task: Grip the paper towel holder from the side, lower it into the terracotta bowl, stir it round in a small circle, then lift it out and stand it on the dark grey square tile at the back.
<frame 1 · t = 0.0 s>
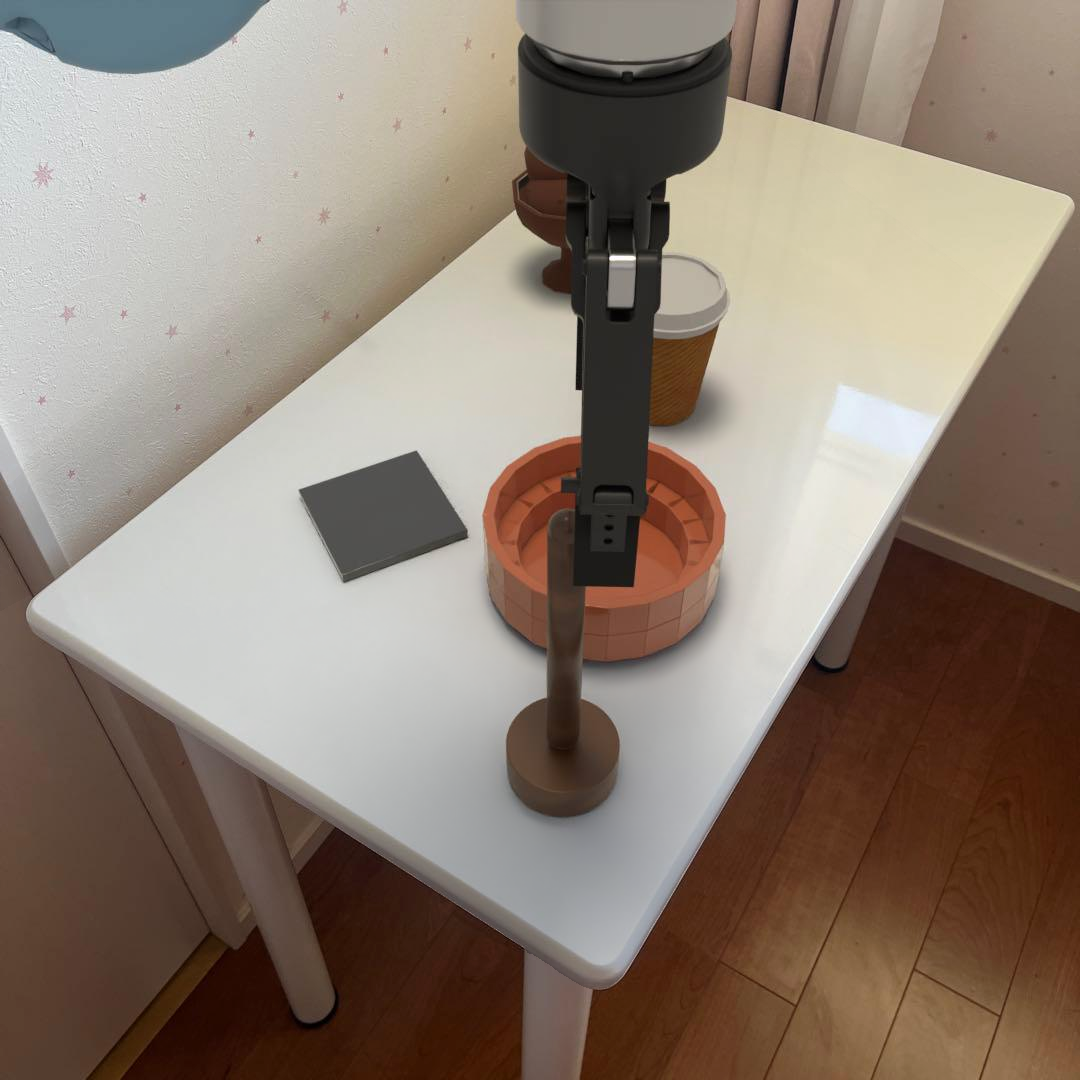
hand: (601, 475, 54), 24 cm above the table, tool pointing down, fingers open, 13 cm apart
dark grey square tile: (382, 516, 85), on the table
paper towel holder: (562, 768, 70), on the table
terracotta round bowl: (600, 576, 81), on the table
ice cream bowl: (569, 279, 107), on the table
disposable coffee cup: (658, 403, 94), on the table
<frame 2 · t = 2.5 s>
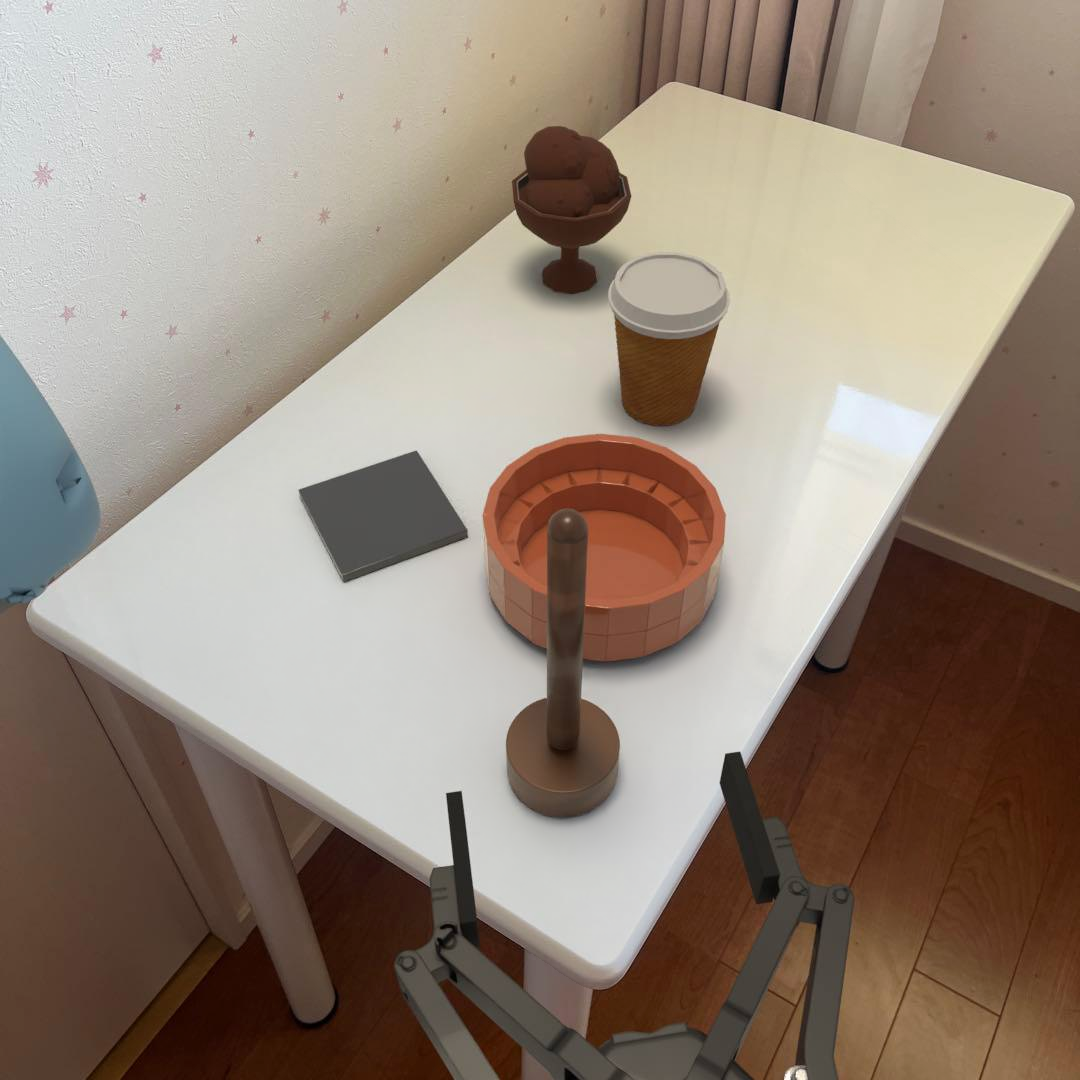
hand: (594, 785, 54), 13 cm above the table, tool horizontal, fingers open, 13 cm apart
nothing on the table moved.
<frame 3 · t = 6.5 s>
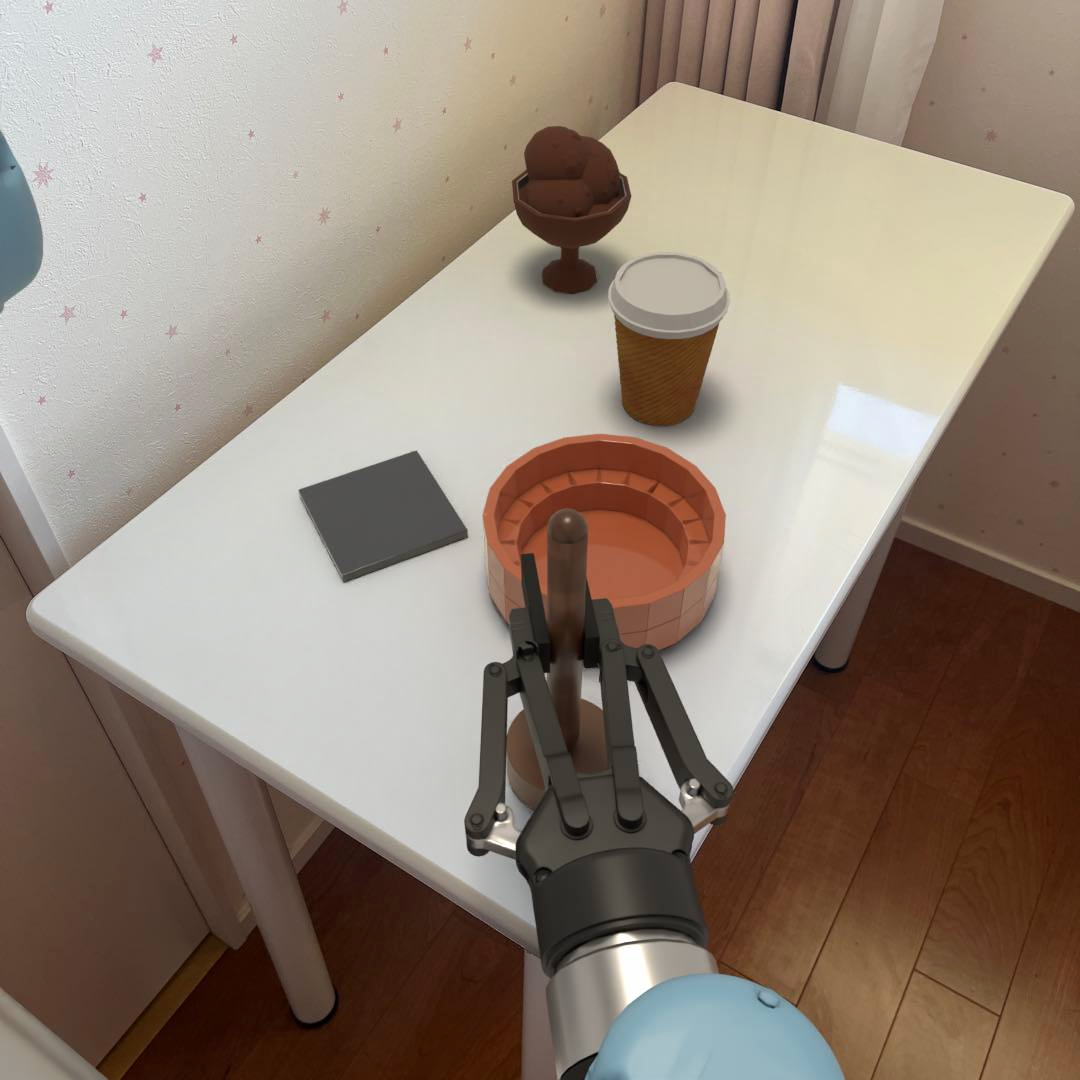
hand: (550, 567, 64), 13 cm above the table, tool horizontal, fingers closed on paper towel holder, 2 cm apart
paper towel holder: (562, 768, 70), on the table, touching gripper
everything else where it was.
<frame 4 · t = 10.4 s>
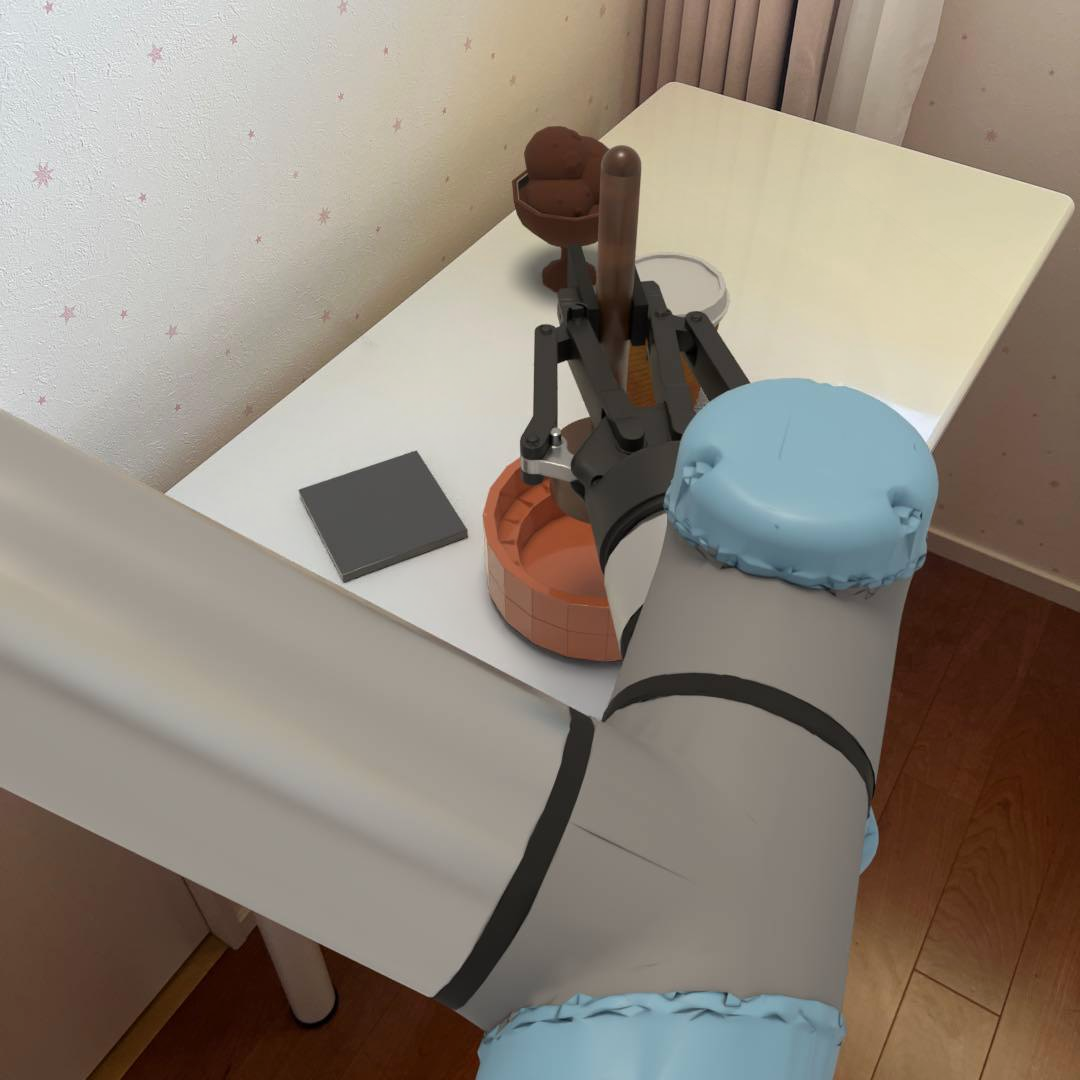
hand: (596, 262, 65), 25 cm above the table, tool horizontal, fingers closed on paper towel holder, 2 cm apart
paper towel holder: (604, 486, 70), point 12 cm above the table, touching gripper
everything else where it was.
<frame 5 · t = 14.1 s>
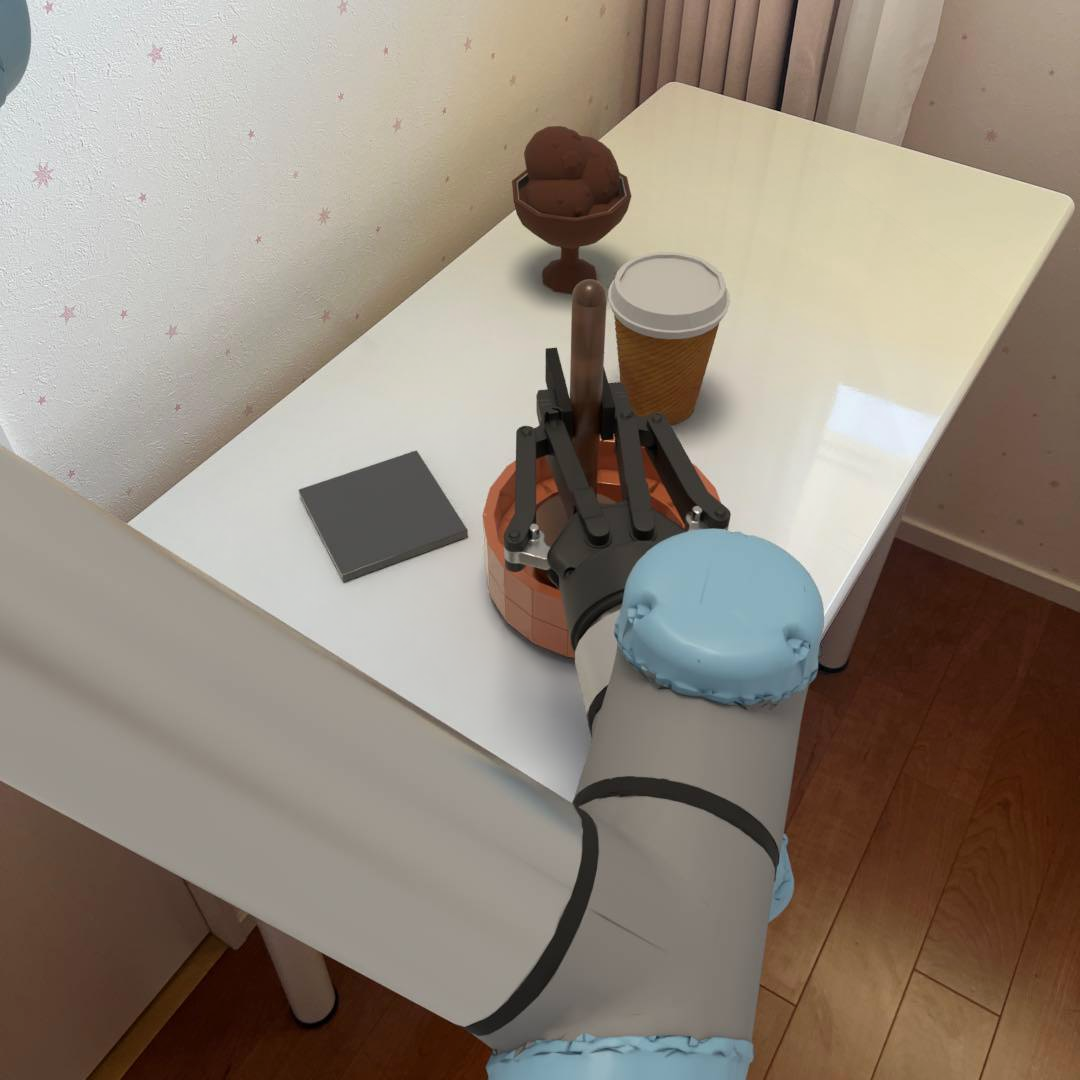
hand: (570, 362, 74), 15 cm above the table, tool horizontal, fingers closed on paper towel holder, 2 cm apart
paper towel holder: (580, 554, 79), point 2 cm above the table, touching gripper
everything else where it was.
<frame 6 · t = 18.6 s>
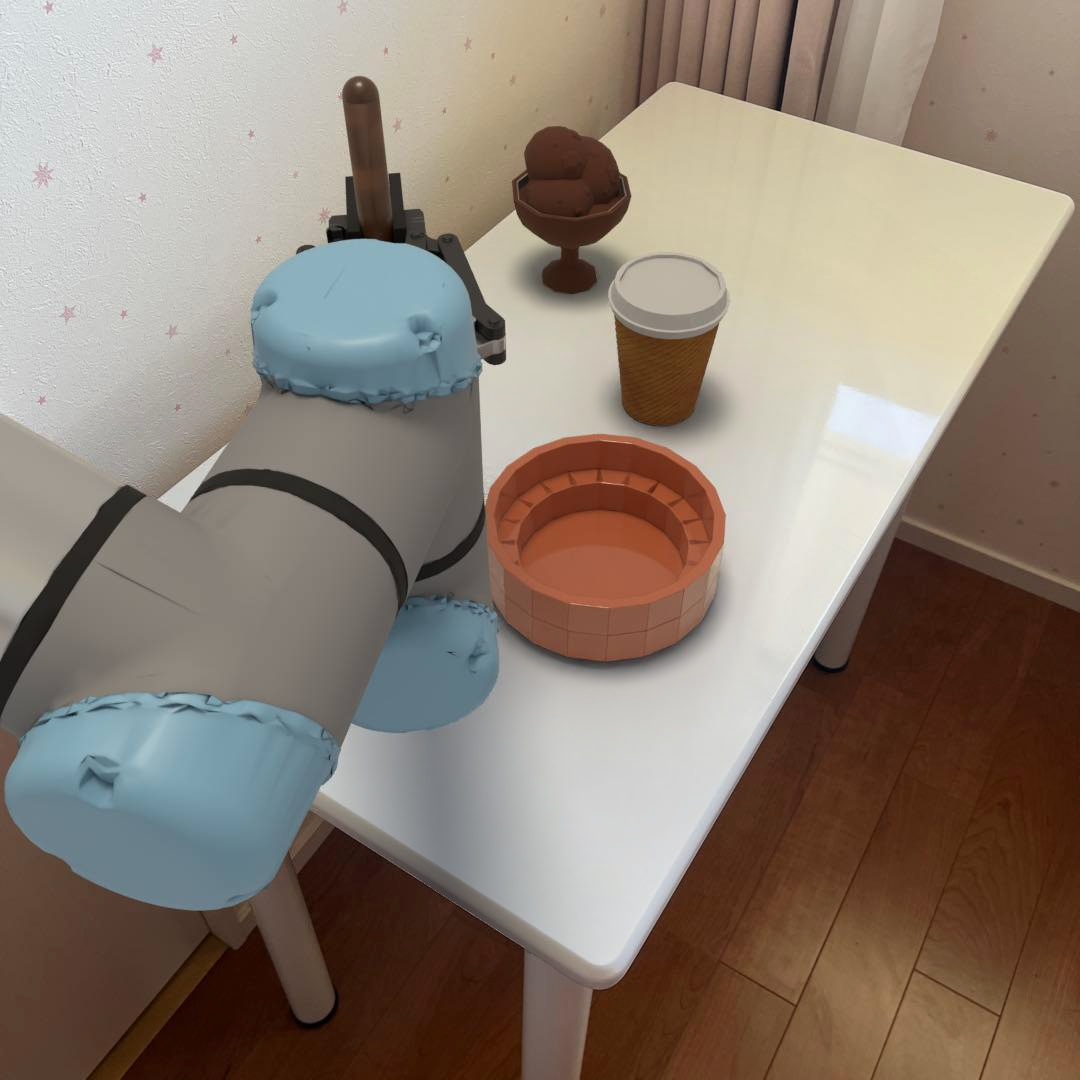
hand: (375, 194, 70), 25 cm above the table, tool horizontal, fingers closed on paper towel holder, 2 cm apart
paper towel holder: (399, 407, 76), point 12 cm above the table, touching gripper
everything else where it was.
when the fingers open (14 cm above the table, at t = 22.0 s): paper towel holder stays where it is, resting on dark grey square tile.
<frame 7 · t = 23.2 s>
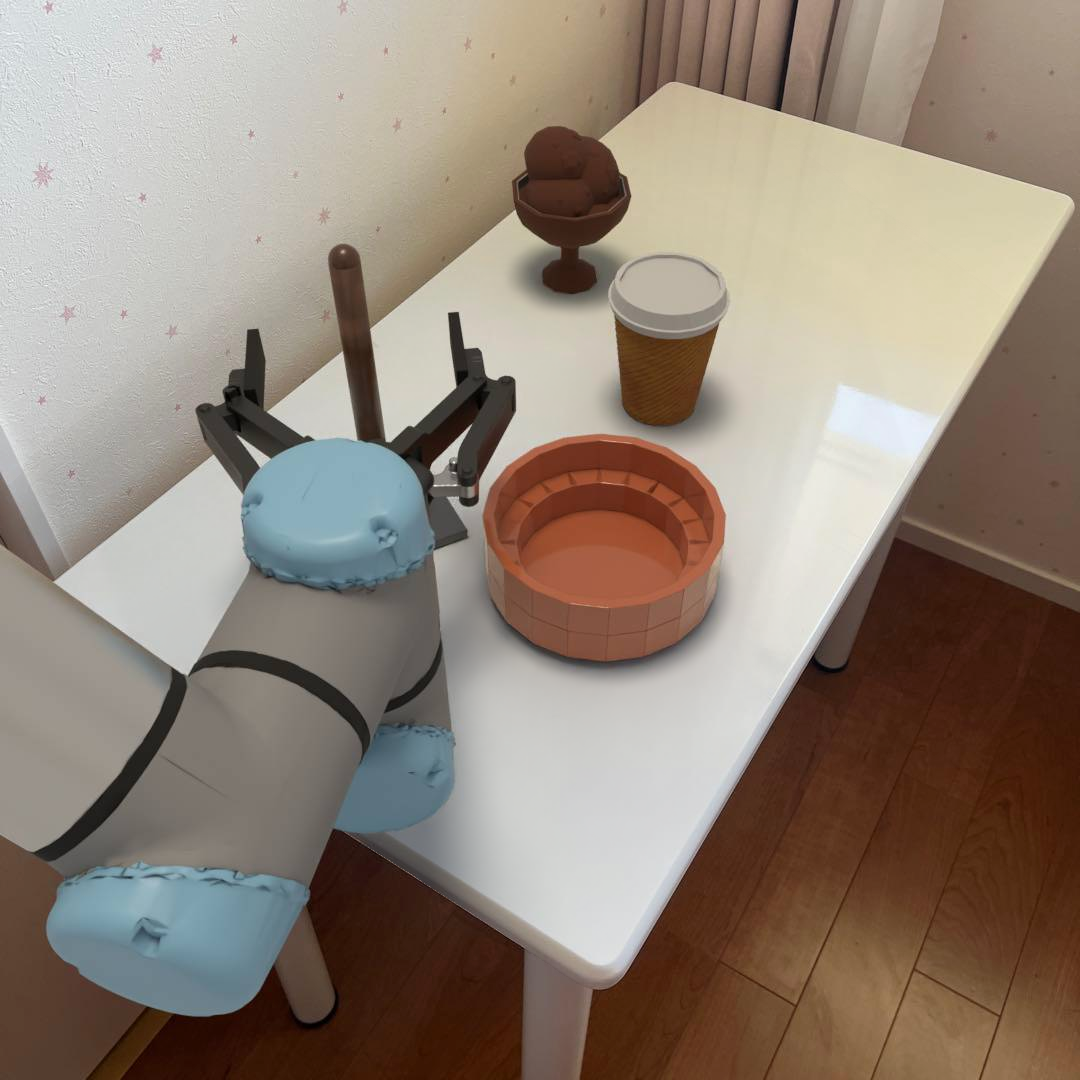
hand: (356, 336, 76), 15 cm above the table, tool horizontal, fingers open, 13 cm apart
paper towel holder: (382, 509, 84), point 1 cm above the table, touching dark grey square tile
everything else where it was.
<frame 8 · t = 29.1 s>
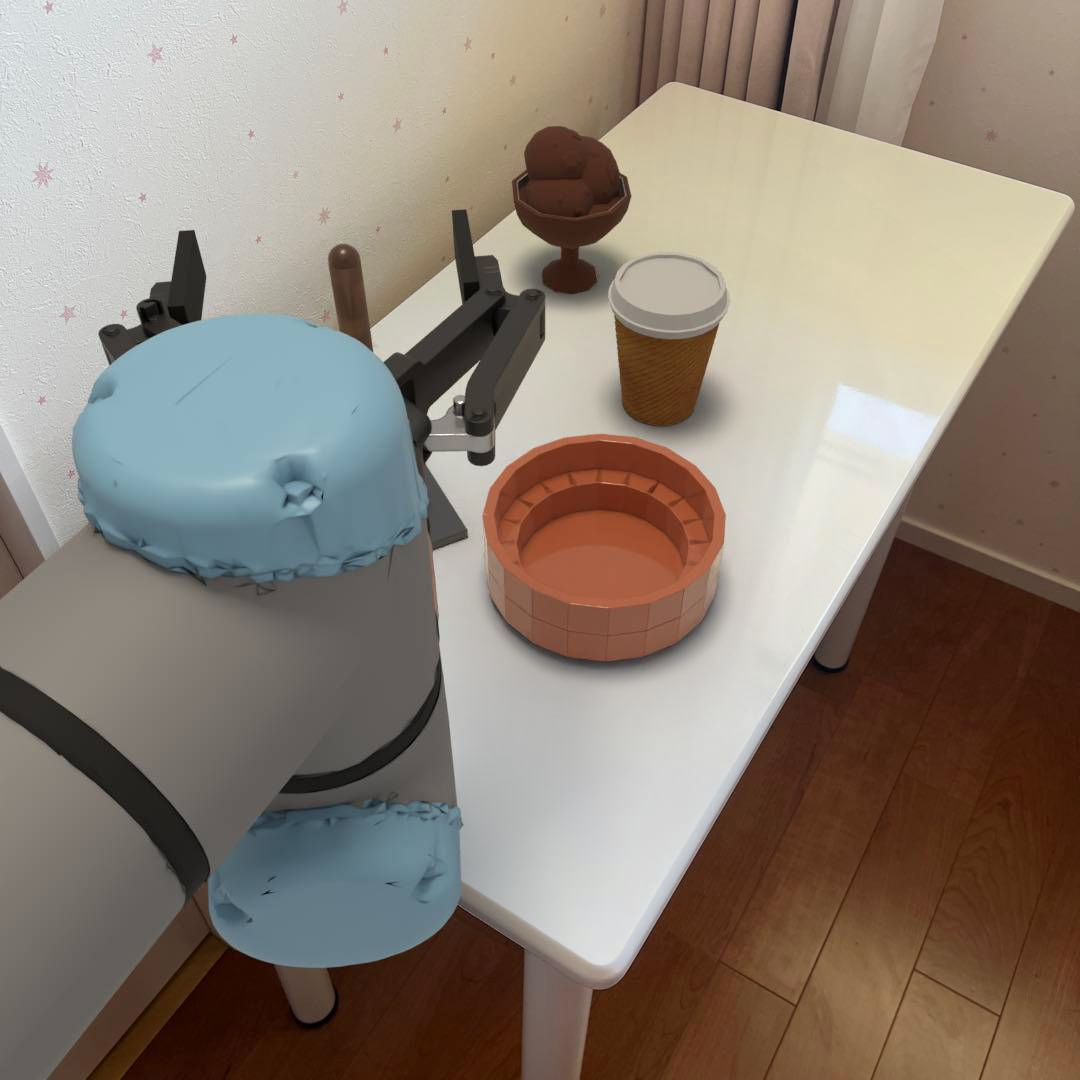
hand: (328, 242, 57), 30 cm above the table, tool horizontal, fingers open, 13 cm apart
nothing on the table moved.
at the end: paper towel holder inside the target area on the dark grey square tile (0.1 cm from its centre), point 0.8 cm above the dark grey square tile's base; paper towel holder tilted 0°; the gripper is holding nothing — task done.
